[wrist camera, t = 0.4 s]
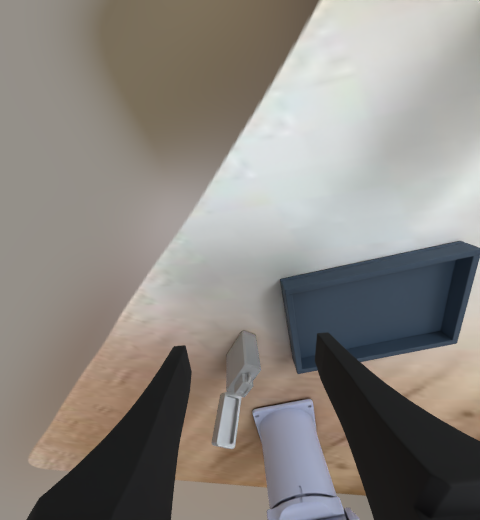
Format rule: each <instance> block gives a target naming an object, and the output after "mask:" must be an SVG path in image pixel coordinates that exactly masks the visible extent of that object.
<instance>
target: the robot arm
mask: <svg viewBox="0 0 480 520" xmlns="http://www.w3.org/2000/svg"><path fill="white" fill-rule="evenodd" d="M315 363H316V366H317V369H318V372H319V375H320V378H321V381H322V383H323V385H324V388H325V390H326V392H327V394H328V396H329V399H330V401H331V403H332V405H333V407H334V410H335V412H336V414H337V416H338V418H339V420H340V423H341V425H342V427H343V430H344V432H345V435H346V438H347V440H348V443H349V446H350V449H351V451H352V454H353V457H354V460H355V463H356V466H357V469H358V472H359V475H360V477H361V480H362V483H363V486H364V490H365V493H366V496H367V499H368V502H369V505H370V508H371V511H372V514H373V518H374V520H480V441H478V440H476V439H474V438H472V437H470V436H468V435H467V434H465V433H463V432H461V431H459V430H457V429H456V428H454V427H452V426H450V425H449V424H447V423H445V422H443V421H442V420H440V419H438V418H437V417H435V416H433V415H432V414H430V413H428V412H427V411H425V410H424V409H422V408H421V407H419V406H417V405H416V404H414V403H413V402H411V401H410V400H408V399H407V398H405V397H404V396H402V395H401V394H400V393H398V392H397V391H396V390H394V389H393V388H391V387H390V386H389V385H387V384H386V383H385V382H383V381H382V380H381V379H380V378H378V377H377V376H376V375H375V374H373V373H372V372H371V371H370V370H369V369H367V368H366V367H365V366H364V365H363V364H362V363H361V362H359V361H358V360H357V359H356V358H355V357H354V356H353V355H352V354H351V353H350V352H348V351H347V350H346V349H345V348H344V347H343V346H342V345H341V344H340V343H339V342H338V341H337V340H336V339H335V338H334V337H333V336H332V335H331V334H330V333H329V332H326V333H317V340H316V351H315ZM191 373H192V372H191V367H190V363H189V359H188V354H187V350H186V346H174V347H173V348H172V350H171V352H170V353H169V355H168V357H167V358H166V360H165V361H164V363H163V365H162V366H161V368H160V369H159V371H158V372H157V374H156V375H155V377H154V378H153V380H152V381H151V383H150V384H149V385H148V387H147V388H146V389H145V391H144V392H143V394H142V395H141V396H140V398H139V399H138V400H137V401H136V403H135V404H134V405H133V407H132V408H131V409H130V410H129V411H128V413H127V414H126V415H125V416H124V417H123V418H122V420H121V421H120V422H119V423H118V424H117V425H116V426H115V427H114V428H113V430H112V431H111V432H110V433H109V434H108V435H107V436H106V437H105V438H104V439H103V440H102V441H101V442H100V443H99V444H98V445H97V446H96V447H95V448H94V449H93V450H92V451H91V452H90V453H89V454H88V455H87V456H86V457H85V458H84V459H83V460H82V461H81V462H80V463H79V464H78V465H77V466H76V467H75V468H74V469H72V470H71V471H70V472H69V473H68V474H67V475H66V476H64V477H63V478H62V479H61V480H60V481H59V482H58V483H56V484H55V485H54V486H53V487H52V488H51V489H50V490H48V492H46V493H45V494H44V495H43V496H41V497H40V498H39V500H38V501H37V503H36V505H35V506H34V508H33V509H32V511H31V513H30V514H29V516H28V518H27V520H171V510H172V501H173V491H174V481H175V473H176V465H177V457H178V449H179V443H180V437H181V432H182V428H183V423H184V418H185V413H186V408H187V403H188V398H189V393H190V384H191ZM252 412H253V417H254V420H255V423H256V427H257V430H258V433H259V436H260V439H261V442H262V448H263V456H264V464H265V473H266V481H267V489H268V497H269V506H270V509H268V510H267V518H268V520H360V519H359V517H358V516H357V515H356V514H355V513H354V512H352V510H351V509H350V508H344V510H343V507H342V504H341V501H340V498H339V497H337V496H336V492H335V489H334V486H333V483H332V480H331V477H330V474H329V471H328V467H327V464H326V461H325V458H324V455H323V452H322V449H321V446H320V443H319V439H318V436H317V432H316V424H315V416H314V407H313V402H312V400H311V399H305V400H300V401H295V402H289V403H284V404H279V405H273V406H268V407H263V408H257V409H254V410H253V411H252Z"/></svg>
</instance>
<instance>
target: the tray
mask: <svg viewBox="0 0 480 520" xmlns="http://www.w3.org/2000/svg"><path fill="white" fill-rule="evenodd" d="M479 258H480V248H478V247H476V246H473V245H470V244H468V243H465V242H462V241H458V242H453V243H448V244H444V245H439V246H434V247H429V248H425V249H420V250H415V251H411V252H406V253H401V254H396V255H392V256H387V257H382V258H378V259H373V260H368V261H364V262H359V263H354V264H349V265H345V266H340V267H335V268H331V269H326V270H321V271H316V272H312V273H307V274H302V275H298V276H293V277H288V278H283V279H280V282H281V288H282V294H283V301H284V307H285V313H286V319H287V325H288V332H289V338H290V344H291V350H292V357H293V361H294V364H295V367H296V371H297V374H301V373H306V372H311V371H317V370H318V369H317V366H316V363H315V351H316V340H317V333H326V332H329V333H330V334H331V335H332V336H333V337H334V338H335V339H336V340H337V341H338V342H339V343H340V344H341V345H342V346H343V347H344V348H345V349H346V350H347V351H348V352H350V353H351V354H352V355H353V356H354V357H355V358H356V359H357V360H358V361H359V362H363V361H368V360H373V359H379V358H384V357H389V356H394V355H399V354H404V353H410V352H415V351H420V350H425V349H430V348H435V347H441V346H446V345H451V344H456V343H457V341H458V337H459V333H460V330H461V326H462V322H463V318H464V314H465V311H466V307H467V303H468V299H469V296H470V292H471V288H472V284H473V280H474V277H475V273H476V269H477V265H478V262H479Z"/></svg>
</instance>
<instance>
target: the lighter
mask: <svg viewBox="0 0 480 520" xmlns="http://www.w3.org/2000/svg"><path fill="white" fill-rule="evenodd" d="M260 371H261V366H260V359H259V353H258V347H257V340H256V335H255V334H252V333H249V332H246V331H242V332H241V333H240V335H239V336H238V338H237V339H236V341H235V343H234V344H233V346H232V347H231V349H230V350H229V352H228V353H227V381H226V390H227V392H225V393H222V394H221V395H220V399H219V405H218V410H217V416H216V421H215V426H214V432H213V437H212V445H214V446H218V447H223V448H228V449H233V448H234V447H235V442H236V435H237V427H238V420H239V412H240V404H241V397H245V396H246V395H247V394H248V392H249V391H250V390H251V388H252V387H253V380H254V379H255V377H256V376H257V375H258V373H259V372H260Z"/></svg>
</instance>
